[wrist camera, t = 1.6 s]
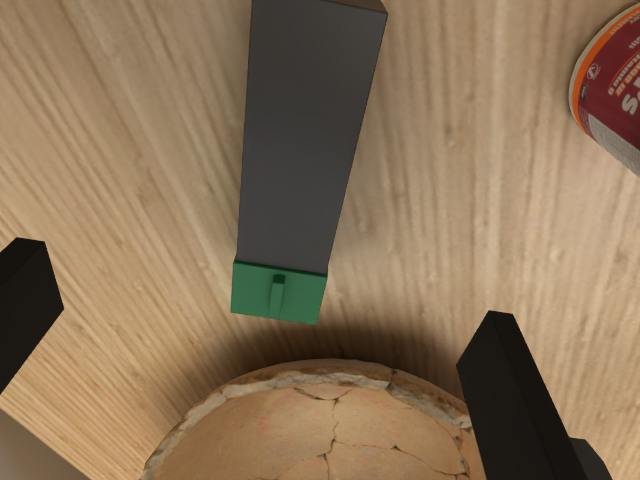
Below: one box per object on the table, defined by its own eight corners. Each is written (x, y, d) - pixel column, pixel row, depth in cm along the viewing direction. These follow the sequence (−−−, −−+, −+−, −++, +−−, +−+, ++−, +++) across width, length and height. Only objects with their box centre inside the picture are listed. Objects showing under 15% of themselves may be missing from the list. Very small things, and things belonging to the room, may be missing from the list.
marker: (269, -27, 16) (244, -13, 12) (381, -4, 17) (394, 17, 13) (246, 257, 25) (227, 321, 21) (319, 269, 26) (315, 334, 22)
